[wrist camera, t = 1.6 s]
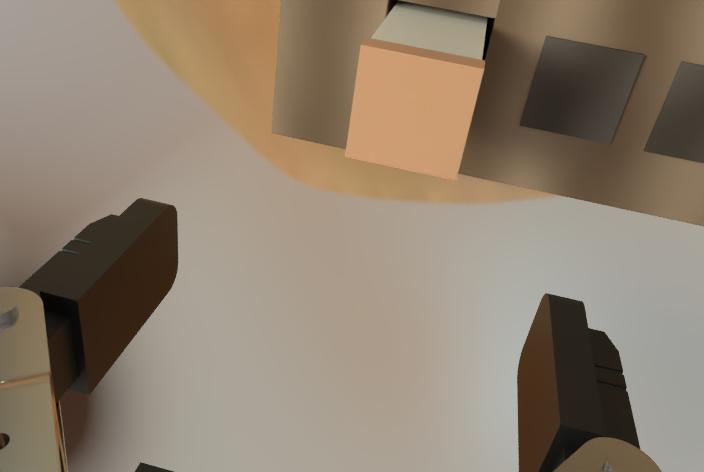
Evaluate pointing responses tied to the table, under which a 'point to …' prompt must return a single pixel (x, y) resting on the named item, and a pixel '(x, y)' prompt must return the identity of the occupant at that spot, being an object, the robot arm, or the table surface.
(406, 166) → the plug
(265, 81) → the table surface
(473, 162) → the socket block
